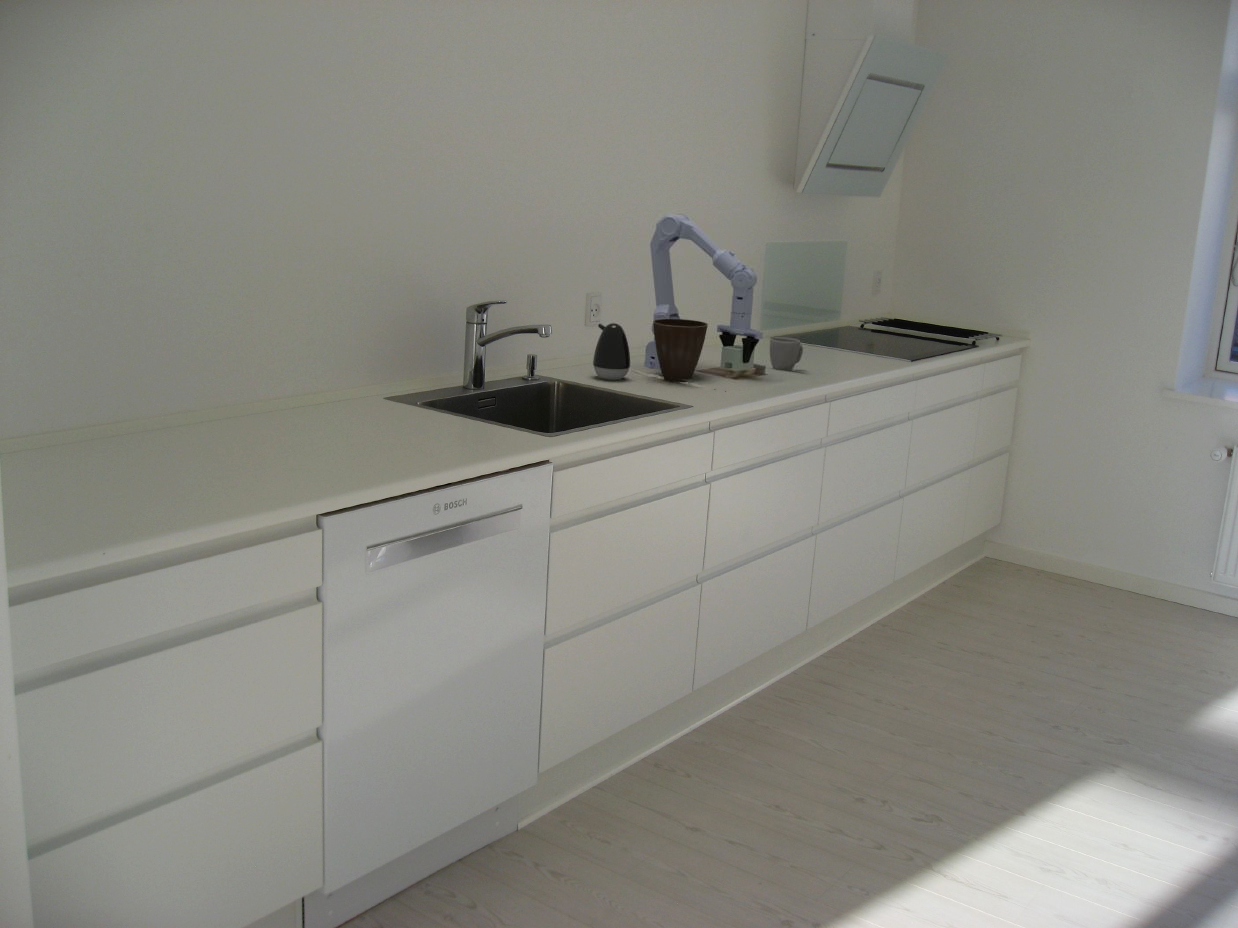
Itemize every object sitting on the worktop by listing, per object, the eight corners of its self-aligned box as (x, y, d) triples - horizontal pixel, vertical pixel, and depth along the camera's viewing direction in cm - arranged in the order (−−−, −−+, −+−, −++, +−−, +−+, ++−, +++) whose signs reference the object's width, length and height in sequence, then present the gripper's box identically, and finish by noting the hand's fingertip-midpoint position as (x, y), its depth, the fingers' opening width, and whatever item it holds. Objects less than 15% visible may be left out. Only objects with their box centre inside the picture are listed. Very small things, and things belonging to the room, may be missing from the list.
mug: (782, 375, 328) (786, 342, 326) (761, 370, 335) (764, 338, 332) (810, 372, 336) (814, 340, 333) (789, 367, 342) (792, 336, 340)
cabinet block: (736, 371, 312) (737, 350, 310) (720, 368, 315) (722, 347, 314) (752, 368, 317) (754, 347, 316) (737, 365, 321) (739, 344, 319)
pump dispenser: (607, 373, 314) (611, 319, 310) (636, 379, 308) (640, 324, 304) (583, 377, 306) (586, 322, 303) (613, 383, 300) (616, 327, 296)
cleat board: (735, 383, 312) (736, 370, 311) (693, 374, 321) (694, 362, 320) (767, 378, 322) (768, 366, 321) (725, 369, 332) (726, 357, 331)
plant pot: (658, 385, 302) (662, 326, 298) (642, 374, 316) (646, 317, 312) (710, 385, 306) (715, 327, 302) (692, 375, 320) (697, 319, 316)
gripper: (771, 315, 310) (766, 363, 314) (729, 308, 320) (725, 355, 323) (756, 316, 305) (751, 366, 309) (714, 310, 315) (710, 357, 318)
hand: (737, 361), depth 316 cm, fingers closed on cabinet block, 5 cm apart
